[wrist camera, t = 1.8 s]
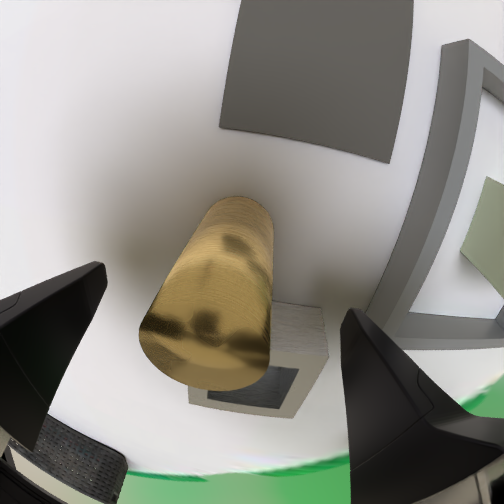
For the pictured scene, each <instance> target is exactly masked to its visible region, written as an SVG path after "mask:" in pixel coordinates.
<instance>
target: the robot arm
mask: <svg viewBox="0 0 504 504" xmlns="http://www.w3.org/2000/svg"><path fill="white" fill-rule="evenodd" d="M107 284H108V281H107V275H106V268H105V265H104V264H103V263H101V262H97V261H94V262H91V263H88V264H86V265H83V266H81V267H78V268H76V269H73V270H71V271H68V272H66V273H63V274H61V275H58V276H56V277H53V278H51V279H49V280H46V281H44V282H41V283H39V284H37V285H34V286H32V287H30V288H27V289H25V290H23V291H22V292H21V291H20V292H18V293H16V294H14V295H11V296H9V297H6V298H4V299H2V300H0V504H68V503H66V502H64V501H62V500H61V499H59V498H57V497H56V496H54V495H52V494H50V493H49V492H47V491H46V490H44V489H43V488H41V487H40V486H38V485H37V484H35V483H34V482H32V481H31V480H29V479H28V478H27V477H25V476H24V475H23V474H21V473H20V472H18V471H17V470H16V467H15V464H14V461H13V457H12V454H11V450H10V447H9V446H8V445H7V444H8V442H9V440H10V438H12V439H14V440H15V441H16V442H18V443H19V444H20V445H22V446H23V447H24V448H26V449H27V450H29V451H30V452H32V453H33V451H34V448H35V445H36V442H37V439H38V437H39V434H40V431H41V428H42V426H43V423H44V420H45V418H46V415H47V413H48V410H49V407H50V405H51V403H52V400H53V398H54V396H55V393H56V391H57V389H58V387H59V384H60V382H61V380H62V378H63V376H64V373H65V371H66V369H67V367H68V365H69V363H70V361H71V359H72V357H73V355H74V353H75V351H76V349H77V347H78V345H79V343H80V341H81V339H82V338H83V336H84V334H85V332H86V330H87V328H88V326H89V325H90V323H91V321H92V319H93V317H94V315H95V312H96V310H97V308H98V306H99V303H100V301H101V299H102V297H103V294H104V292H105V290H106V288H107ZM340 340H341V370H342V378H343V387H344V395H345V405H346V415H347V427H348V440H349V456H350V470H351V471H350V482H351V504H504V419H503V418H490V417H479V416H475V415H473V414H470V413H469V412H467V411H466V410H465V409H463V408H462V407H461V406H460V405H459V404H458V403H457V402H456V401H454V400H453V399H452V398H451V397H450V396H449V395H448V394H447V393H445V392H444V391H443V390H442V389H441V388H440V387H439V386H438V385H437V384H436V383H434V382H433V381H432V380H431V379H430V378H429V377H428V376H427V375H426V374H425V373H424V371H423V370H422V369H421V368H419V366H418V365H417V364H416V363H415V362H414V361H413V360H412V359H411V358H410V357H409V356H408V355H407V354H406V353H405V352H404V351H403V350H402V349H401V348H400V347H399V346H398V345H397V344H396V343H395V342H394V341H393V340H392V339H391V338H390V337H389V336H388V335H387V334H386V333H385V332H384V331H383V330H382V329H381V328H380V327H379V326H377V325H376V324H375V323H374V322H373V321H372V320H371V319H370V318H369V317H368V316H367V315H366V314H365V313H364V312H363V311H362V310H361V309H357V308H350V309H349V310H348V311H347V313H346V316H345V318H344V320H343V322H342V324H341V328H340Z"/></svg>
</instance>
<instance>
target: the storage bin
mask: <svg viewBox="0 0 504 504" xmlns="http://www.w3.org/2000/svg"><path fill="white" fill-rule="evenodd" d="M11 439H12V438H10V440H9V442H8V444H7V445H9V446H10V447H11V448H12V449H14V450H15V451H16V452H18V453H19V454H20V455H21V456H23V457H24V458H26V459H27V460H28V461H30V462H31V463H33V464H34V465H35V466H37V467H38V468H40V469H41V470H43V471H45V472H46V473H48V474H49V475H51V476H52V477H54V478H56V479H57V480H59V481H61V482H62V483H64V484H66V485H68V486H69V487H71V488H73V489H75V490H77V491H79V492H81V493H83V494H85V495H87V496H89V497H91V498H93V499H95V500H98V501H100V502H102V503H104V504H117V500H118V498H119V494H120V492H121V488H122V486H123V482H124V479H125V475H126V473H127V470H128V467H127V464H126V461H125V458H124V457H123V456H122V455H120V454H119V453H117V452H115V451H113V450H111V449H109V448H107V447H106V446H105V445H102V444H100V443H98V442H96V441H94V440H92V439H90V438H88V437H86V436H84V435H82V434H80V433H79V432H77V431H75V430H73V429H71V428H70V427H68V426H66V425H64V424H63V423H61V422H59V421H58V420H56V419H55V418H53V417H51V416H50V415H48V414H47V415H46V418H45V420H44V423H43V426H42V428H41V431H40V434H39V437H38V439H37V442H36V445H35V448H34V451H33V453H32V452H30V451H29V450H27V449H26V448H24V447H23V446H22V445H20V444H19V443H18V442H16V441H15V440H14V439H12V440H13V441H12V440H11ZM44 439H45V440H44ZM50 439H51V440H50ZM16 443H17V444H18V445H17V444H16ZM55 446H56V447H55ZM61 446H62V447H61ZM60 449H61V450H60ZM39 450H40V451H39ZM45 450H46V451H45ZM72 456H73V457H72ZM50 457H51V458H50ZM56 457H57V458H56ZM36 458H37V459H36ZM83 458H84V459H83ZM77 459H78V460H77ZM54 460H56V461H54ZM81 461H82V462H81ZM60 463H61V464H60ZM89 465H90V466H89ZM67 467H68V468H67ZM95 468H96V469H95ZM72 470H73V471H72ZM77 473H78V474H77ZM91 476H92V477H91ZM85 477H86V478H85ZM90 480H92V481H90Z"/></svg>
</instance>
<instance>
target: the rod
mask: <svg viewBox="0 0 504 504" xmlns="http://www.w3.org/2000/svg"><path fill="white" fill-rule="evenodd" d="M273 240H274V228H273V223H272V219H271V217H270V215H269V214H268V212H267V211H266V210H265V208H264V207H262V206H261V205H260V204H259V203H257V202H256V201H254V200H252V199H249V198H245V197H239V196H235V197H228V198H224V199H222V200H220V201H218V202H216V203H215V204H214V205H213V206H212V207H211V208H210V209H209V210H208V212H207V213H206V215H205V216H204V218H203V219H202V221H201V222H200V224H199V226H198V227H197V229H196V230H195V232H194V234H193V235H192V237H191V238H190V240H189V242H188V243H187V245H186V246H185V248H184V250H183V251H182V253H181V255H180V256H179V258H178V260H177V261H176V263H175V265H174V266H173V268H172V270H171V271H170V273H169V275H168V276H167V278H166V280H165V282H164V283H163V285H162V287H161V288H160V290H159V292H158V294H157V295H156V297H155V299H154V301H153V303H152V304H151V306H150V308H149V310H148V311H147V313H146V315H145V317H144V319H143V321H142V322H141V325H140V328H139V341H140V344H141V347H142V349H143V351H144V353H145V355H146V356H147V358H148V359H149V360H150V361H151V362H152V363H153V365H154V366H155V367H157V368H158V369H159V370H160V371H161V372H163V373H164V374H166V375H167V376H169V377H171V378H172V379H174V380H176V381H178V382H180V383H183V384H185V385H188V386H191V387H194V388H198V389H203V390H210V391H230V390H236V389H240V388H244V387H247V386H249V385H251V384H253V383H255V382H256V381H258V380H259V379H260V378H261V377H262V376H263V375H264V374H265V372H266V371H267V369H268V366H269V362H270V344H271V317H272V284H273Z"/></svg>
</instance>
